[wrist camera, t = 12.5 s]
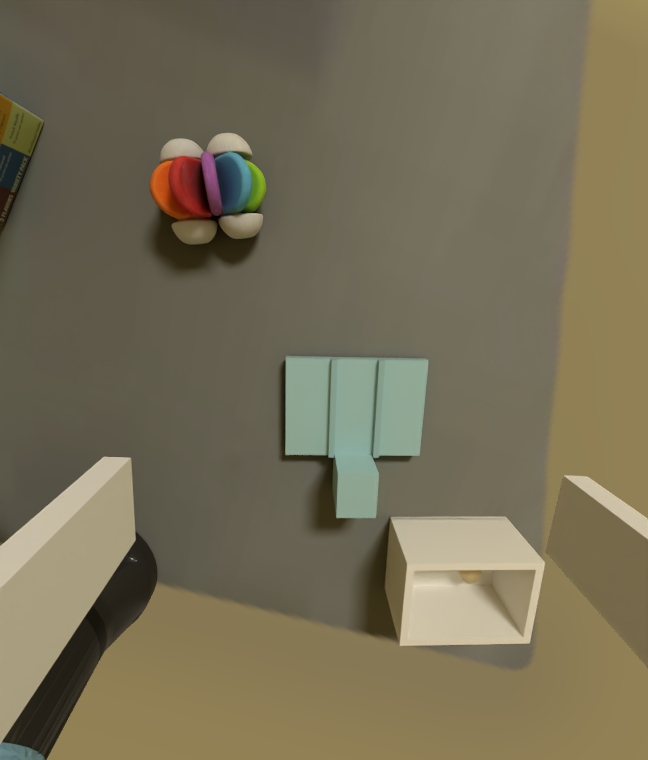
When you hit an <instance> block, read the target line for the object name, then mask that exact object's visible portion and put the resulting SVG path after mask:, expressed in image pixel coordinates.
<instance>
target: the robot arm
mask: <svg viewBox="0 0 648 760" xmlns="http://www.w3.org/2000/svg"><path fill="white" fill-rule="evenodd" d="M546 553H547V554H548V555H549V556H550V558H551V559H552V560H553V561H554V562H555V563H556V564H557V566H558V567H559V568H560V569H561V570H562V571H563V572H564V573H565V575H566V576H567V577H568V578H569V579H570V580H571V581H572V582H573V584H574V585H575V586H576V587H577V588H578V589H579V590H580V591H581V593H582V594H583V595H584V596H585V597H586V598H587V599H588V601H589V602H590V603H591V604H592V605H593V606H594V607H595V609H596V610H597V611H598V612H599V613H600V614H601V615H602V617H603V618H604V619H605V620H606V621H607V622H608V623H609V624H610V626H611V627H612V628H613V629H614V630H615V631H616V632H617V633H618V635H619V636H620V637H621V638H622V639H623V640H624V641H625V643H627V645H628V646H629V647H630V648H631V649H632V651H633V652H634V653H635V654H636V655H637V656H638V657H639V658H640V659H641V661H642V662H643V663H644V664H645V665H646V666H647V668H648V519H647V518H646V517H645V516H643V515H641V514H640V513H639V512H637V511H636V510H634V509H633V508H631V507H630V506H629V505H627V504H626V503H624V502H623V501H622V500H620V499H619V498H617V497H616V496H614V495H613V494H611V493H610V492H609V491H607V490H606V489H604V488H603V487H601V486H600V485H599V484H597V483H596V482H594V481H593V480H591V479H590V478H588V477H586V476H563V479H562V484H561V488H560V492H559V496H558V501H557V505H556V509H555V514H554V518H553V522H552V527H551V531H550V535H549V539H548V544H547V548H546ZM156 582H157V566H156V561H155V558H154V556H153V553H152V551H151V549H150V548H149V546H148V545H147V543H146V542H145V541H144V540H143V538H142V537H141V536H140V535H139V534H137V533H136V532H135V519H134V502H133V485H132V467H131V458H121V457H103V458H102V459H101V460H100V461H99V462H97V463H96V464H95V465H94V466H93V467H92V468H90V469H89V470H88V471H87V472H86V473H85V474H83V475H82V476H81V477H80V478H79V479H78V480H76V481H75V482H74V483H73V484H72V485H71V486H70V487H68V488H67V489H66V490H65V491H64V492H63V493H61V494H60V495H59V496H58V497H57V498H56V499H54V500H53V501H52V502H51V503H50V504H49V505H47V506H46V507H45V508H44V509H43V510H42V511H41V512H39V513H38V514H37V515H36V516H35V517H34V518H32V519H31V520H30V521H29V522H28V523H27V524H25V525H24V526H23V527H22V528H21V529H20V530H18V531H17V532H16V533H15V534H14V535H13V536H12V537H10V538H9V539H8V540H7V541H6V542H5V543H3V544H2V545H1V546H0V760H46V759H47V758H48V756H49V754H50V752H51V750H52V748H53V746H54V744H55V742H56V741H57V739H58V737H59V735H60V733H61V731H62V729H63V727H64V726H65V724H66V722H67V720H68V718H69V716H70V714H71V712H72V711H73V708H74V706H75V705H76V703H77V701H78V699H79V697H80V696H81V693H82V692H83V690H84V688H85V686H86V684H87V682H88V680H89V679H90V677H91V675H92V673H93V671H94V669H95V667H96V665H97V664H98V662H99V660H100V658H101V656H102V655H103V653H104V651H105V650H106V649H107V648H108V647H109V646H110V645H111V644H112V643H113V642H114V641H115V640H116V639H117V638H118V637H119V636H120V635H121V634H122V633H123V632H124V631H125V630H126V629H127V628H128V627H129V626H130V625H131V624H132V623H134V622H135V621H136V620H137V619H138V618H139V616H140V615H141V614H142V612H143V611H144V609H145V608H146V606H147V604H148V602H149V600H150V598H151V596H152V594H153V592H154V589H155V586H156Z"/></svg>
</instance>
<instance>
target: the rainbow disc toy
mask: <svg viewBox="0 0 648 760" xmlns="http://www.w3.org/2000/svg"><path fill="white" fill-rule="evenodd" d="M251 158H252V152H251V149H250V147H249V146H248V144H247V143H246V142H245V140H243V139H242V138H241V137H240V136H238V135H236V134H233V133H222V134H219V135H216V136H215V137H214V138H213V139H212V140H211V141H210V143H209V145H208V147H207V151H206V152H203V150H202V149H201V148H200V147H199V146H198V145H197V144H196V143H194V142H193V141H191V140H188V139H173V140H171V141H169V142H168V143H167V144H166V145H165V146H164V147H163V149H162V151H161V154H160V165H159V166H158V167H157V168H156V169H155V170H154V172H153V174H152V177H151V180H150V192H151V195H152V197H153V199H154V201H155V202H156V204H157V205H158V206H159V207H160V208H161V209H162V210H163V211H164V212H165V213H167V214H168V215H170V216H172V217H174V218H176V219H177V220H179V221H177V222H174V223H173V224H172V229H173V231H174V233H175V234H176V236H177V237H178V238H179V239H180V240H181V241H182V242H184V243H186V244H204V243H208V242H210V241H211V240H212V239H213V237H214V236H215V234H216V231H217V225H218V223H217V222H216V221H213V220H210V219H209V217H211V216H212V215H215V216H219V215H221V218H219V225H220V227H221V228H222V230H223V231H224V232H225V233H226V234H227V235H228V236H230V237H231V238H234V239H244V238H250V237H254V236H255V235H256V234H257V233H258V232H259V230H260V229H261V226H262V222H263V215H262V214H258V213H251V212H254V211H255V210H256V209H257V208H258V207H259V206H260V204H261V203H262V201H263V199H264V197H265V193H266V182H265V178H264V176H263V174H262V172H261V171H260V170H259V169H258V168H257V167H256V166H255V165H254V164H252V163H251V162H249V160H250V159H251ZM243 213H246V214H243Z"/></svg>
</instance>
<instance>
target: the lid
mask: <svg viewBox="0 0 648 760" xmlns="http://www.w3.org/2000/svg"><path fill="white" fill-rule="evenodd" d="M427 371H428V360H427V359H414V358H361V357H307V356H286V445H285V455H328V458H333V482H332V489H333V497H334V504H335V512H336V518H376V509H377V495H378V480H379V473H378V471H377V468H376V465H375V463H374V460H373V458H379V455H388V456H419V455H420V444H421V434H422V423H423V413H424V402H425V392H426V381H427ZM372 456H373V458H372Z"/></svg>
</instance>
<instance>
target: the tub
mask: <svg viewBox="0 0 648 760" xmlns="http://www.w3.org/2000/svg"><path fill="white" fill-rule="evenodd" d="M544 566H545V562H544V561H543V560H542V559H541V557H540V556H539V555H538V554H537V553H536V552H535V550H534V549H533V548H532V547H531V546H530V545H529V543H528V542H527V541H526V540H525V539H524V538H523V536H522V535H521V534H520V533H519V532H518V531H517V529H516V528H515V527H514V526H513V525H512V524H511V522H510V521H509V520H508V519H507V518H506V517H390V526H389V538H388V551H387V564H386V576H385V591H386V595H387V599H388V603H389V607H390V611H391V615H392V619H393V622H394V626H395V630H396V634H397V638H398V642H399V646H413V645H469V644H526V643H530V639H531V633H532V628H533V623H534V618H535V613H536V607H537V602H538V597H539V592H540V587H541V581H542V576H543V571H544Z"/></svg>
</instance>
